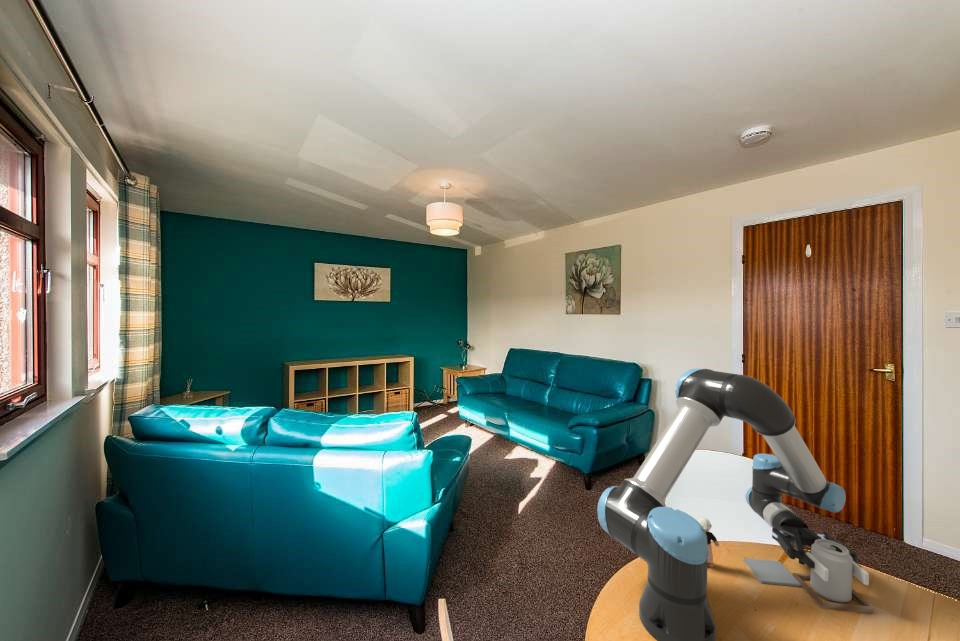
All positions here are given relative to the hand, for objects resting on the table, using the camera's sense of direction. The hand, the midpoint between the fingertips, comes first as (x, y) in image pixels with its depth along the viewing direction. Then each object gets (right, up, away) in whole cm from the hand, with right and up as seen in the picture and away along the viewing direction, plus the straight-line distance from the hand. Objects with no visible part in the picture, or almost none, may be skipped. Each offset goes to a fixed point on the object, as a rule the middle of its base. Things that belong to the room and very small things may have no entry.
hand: (846, 577), depth 90 cm
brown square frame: (+1, -7, +5) cm, 9 cm away
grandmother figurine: (-24, -7, +16) cm, 30 cm away
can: (+1, -8, +5) cm, 9 cm away
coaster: (-8, -7, +13) cm, 17 cm away
